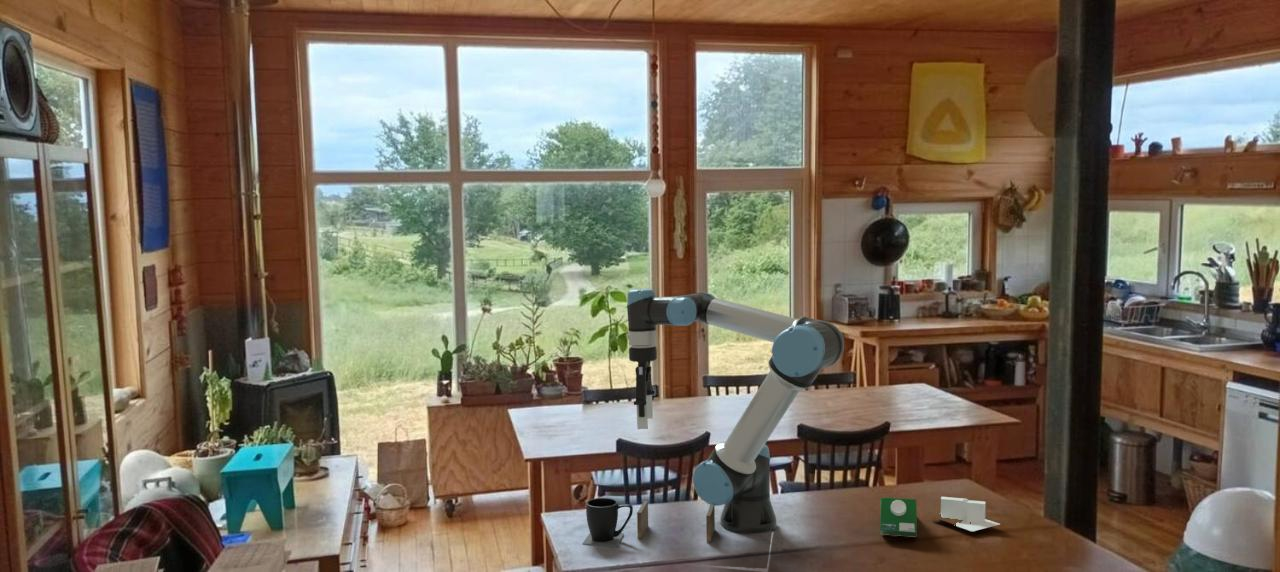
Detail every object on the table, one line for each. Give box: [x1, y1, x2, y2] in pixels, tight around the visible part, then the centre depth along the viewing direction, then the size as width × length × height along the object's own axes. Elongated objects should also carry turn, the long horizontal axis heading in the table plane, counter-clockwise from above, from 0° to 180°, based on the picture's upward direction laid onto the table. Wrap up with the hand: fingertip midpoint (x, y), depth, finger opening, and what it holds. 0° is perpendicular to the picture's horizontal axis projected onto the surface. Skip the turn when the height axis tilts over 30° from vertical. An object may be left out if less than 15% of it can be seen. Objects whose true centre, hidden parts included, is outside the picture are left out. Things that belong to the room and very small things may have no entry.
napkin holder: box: [940, 496, 1000, 532], centre depth 249 cm, size 15×11×6 cm
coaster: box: [582, 532, 625, 548], centre depth 236 cm, size 9×9×1 cm
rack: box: [636, 500, 716, 544], centre depth 240 cm, size 19×10×7 cm, turn 79°
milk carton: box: [879, 496, 918, 536], centre depth 246 cm, size 9×9×25 cm
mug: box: [585, 497, 634, 542], centre depth 235 cm, size 8×12×10 cm
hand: (645, 423), depth 249 cm, fingers open, 13 cm apart
